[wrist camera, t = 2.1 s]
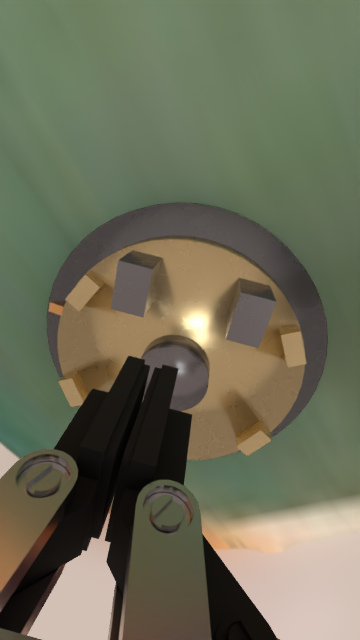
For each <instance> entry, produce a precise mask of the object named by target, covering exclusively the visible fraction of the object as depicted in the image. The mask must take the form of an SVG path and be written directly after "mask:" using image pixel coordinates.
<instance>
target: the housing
mask: <svg viewBox="0 0 360 640" xmlns="http://www.w3.org/2000/svg"><path fill="white" fill-rule="evenodd" d="M172 235H179V236H193V237H199V238H204V239H209V240H212V241H215V242H218V243H221V244H224V245H227V246H229V247H231V248H233V249H235V250H237V251H239V252H241V253H243V254H244V255H246V256H247V257H249V258H250V259H252V260H253V261H255V262H256V263H257V264H258V265H259V266H261V267H262V268H263V269H264V270H265V271H266V272H267V273H268V274H269V275H270V276H271V277H272V278H273V279H274V281H275V282H276V283H277V284H278V285H279V287H280V288H281V290H282V291H283V293H284V295H285V296H286V298H287V299H288V301H289V303H290V305H291V307H292V309H293V312H294V314H295V316H296V318H297V321H298V323H299V325H300V329H301V333H302V336H303V340H304V349H305V358H306V363H307V364H305V371H304V376H303V381H302V385H301V388H300V391H299V393H298V396H297V399H296V401H295V402H294V404H293V406H292V408H291V409H290V411H289V413H288V414H287V415H286V416H285V418H284V419H283V420H282V422H281V423H280V424H279V425H278V426H277V427H276V428H275V429H274V430H273V431H272V432H271V437H273V436H274V435H276V434H277V433H278V432H280V431H281V430H282V429H284V428H285V427H286V426H288V425H289V424H290V423H291V422H292V421H293V420H294V419H295V418H296V417H297V416H298V415H299V414H300V412H301V411H302V410H303V408H304V407H305V406H306V405H307V403H308V402H309V400H310V398H311V397H312V395H313V393H314V392H315V390H316V388H317V386H318V383H319V381H320V378H321V375H322V373H323V369H324V364H325V360H326V355H327V342H328V336H327V324H326V318H325V313H324V309H323V305H322V302H321V299H320V297H319V294H318V292H317V289H316V287H315V285H314V283H313V281H312V280H311V278H310V276H309V275H308V273H307V271H306V270H305V268H304V267H303V265H302V264H301V263H300V262H299V261H298V259H297V258H296V257H295V256H294V254H293V253H292V252H291V251H290V250H289V249H288V247H286V246H285V245H284V244H283V243H282V242H281V241H280V240H279V239H278V238H277V237H275V236H274V235H273V234H272V233H270V232H269V231H268V230H266V229H265V228H263V227H262V226H260V225H259V224H257V223H256V222H254V221H252V220H250V219H248V218H246V217H244V216H241V215H239V214H237V213H234V212H231V211H228V210H225V209H222V208H219V207H215V206H209V205H204V204H198V203H167V204H157V205H153V206H149V207H145V208H141V209H137V210H134V211H131V212H128V213H126V214H123V215H121V216H119V217H116V218H114V219H112V220H110V221H109V222H107V223H105V224H104V225H102V226H100V227H99V228H97V229H96V230H94V231H93V232H92V233H91V234H89V235H88V236H87V237H86V238H85V239H83V240H82V241H81V242H80V244H79V245H78V246H77V247H76V248H75V249H74V250H73V251H72V252H71V254H70V255H69V256H68V258H67V260H66V261H65V263H64V264H63V266H62V267H61V269H60V271H59V273H58V275H57V278H56V280H55V282H54V284H53V288H52V291H51V295H50V298H49V304H48V311H47V335H48V342H49V348H50V351H51V355H52V359H53V362H54V365H55V367H56V369H57V372H58V374H59V376H60V378H61V377H62V376H63V373H62V369H61V366H60V362H59V355H58V348H57V344H58V328H59V321H60V317H61V314H62V311H63V308H64V305H65V303H66V300H65V299H66V298H67V296H68V295H69V294H70V293H71V291H72V290H73V289H74V287H75V286H76V284H77V283H78V282H79V280H80V279H81V278H82V277H83V276H84V275H85V274H86V273H87V272H88V271H89V270H90V269H91V268H93V267H94V266H95V265H96V264H98V263H99V262H100V261H102V260H103V259H105V258H106V257H108V256H110V255H111V254H113V253H115V252H116V251H118V250H120V249H122V248H124V247H125V246H128V245H130V244H133V243H136V242H138V241H141V240H145V239H149V238H154V237H160V236H172ZM79 406H80V405H79ZM240 451H241V450H240ZM240 451H238V452H240ZM232 454H233V453H232Z"/></svg>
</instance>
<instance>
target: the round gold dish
mask: <svg viewBox="0 0 360 640" xmlns="http://www.w3.org/2000/svg"><path fill="white" fill-rule="evenodd" d="M65 300H66V303H65V305H64V308H63V311H62V314H61V317H60V321H59V328H58V344H57V348H58V355H59V362H60V366H61V369H62V373H63V376H62V377H61V378H60V379H59V381H58V382H59V384H60V386H61V388H62V390H63V392H64V394H65V396H66V398H67V400H68V402H69V404H70V406H71V407H73V406H79V405H80V407H81V405H82V404H83V402H84V400H85V399H86V397H87V396H88V394H89V392H90V391H91V390H92V389H93V388H94V389H98V390H101V391H105V392H109V391H110V389H111V387H112V385H113V383H114V381H115V379H116V378H117V376H118V374H119V372H120V370H121V368H122V367H123V365H124V363H125V361H126V359H127V357H128V356H133V357H136V358H140V359H144V360H145V364H146V365H149V366H150V370H149V374H148V379H147V383H146V388H145V392H144V396H145V393H146V391H147V388H148V385H149V382H150V380H151V377H152V374H153V371H154V369H155V367H157V368H162V365H167V366H171V367H175V368H179V369H178V374H177V378H176V382H175V387H174V391H173V395H172V399H171V404H170V409H174V410H177V411H181V412H185V413H189V414H192V422H191V430H190V438H189V446H188V454H187V460H202V459H211V458H217V457H222V456H226V455H229V454H232V453H236V452H238V451H240V450H241V451H242V452H243V453H244V454H245V455H246V456H248V455H250V454H251V453H253V452H255V451H256V450H258V449H259V448H261V447H262V446H264V445H265V444H267V443H268V442H270V441H272V438H271V432H272V431H273V430H274V429H275V428H276V427H277V426H278V425H279V424H280V423H281V422H282V420H283V419H284V418H285V416H286V415H287V414H288V413H289V411H290V409H291V408H292V406H293V404H294V402H295V401H296V399H297V396H298V393H299V391H300V388H301V385H302V381H303V376H304V371H305V364H307V363H306V358H305V349H304V340H303V336H302V333H301V329H300V325H299V323H298V321H297V318H296V316H295V314H294V312H293V309H292V307H291V305H290V303H289V301H288V299H287V298H286V296H285V295H284V293H283V291H282V290H281V288H280V287H279V285H278V284H277V283H276V282H275V281H274V279H273V278H272V277H271V276H270V275H269V274H268V273H267V272H266V271H265V270H264V269H263V268H262V267H261V266H259V265H258V264H257V263H256V262H255V261H253V260H252V259H250V258H249V257H247V256H246V255H244V254H243V253H241V252H239V251H237V250H235V249H233V248H231V247H229V246H227V245H224V244H221V243H218V242H215V241H212V240H209V239H204V238H199V237H193V236H179V235H172V236H160V237H154V238H149V239H145V240H141V241H138V242H136V243H133V244H130V245H128V246H125V247H124V248H122V249H120V250H118V251H116V252H115V253H113V254H111V255H110V256H108V257H106V258H105V259H103V260H102V261H100V262H99V263H98V264H96V265H95V266H94V267H93V268H91V269H90V270H89V271H88V272H87V273H86V274H85V275H84V276H83V277H82V278H81V279H80V280H79V282H78V283H77V284H76V286H75V287H74V289H73V290H72V291H71V293H70V294H69V295H68V296H67V298H66V299H65ZM143 399H144V397H143ZM142 402H143V401H142Z"/></svg>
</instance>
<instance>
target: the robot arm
mask: <svg viewBox="0 0 360 640" xmlns="http://www.w3.org/2000/svg"><path fill="white" fill-rule="evenodd" d="M178 369H179V368H175V367H171V366H167V365H162V368H157V367H155V369H154V371H153V374H152V377H151V380H150V382H149V385H148V388H147V391H146V393H145V396H144V392H145V388H146V383H147V379H148V374H149V370H150V366H149V365H146V364H145V360H144V359H140V358H136V357H133V356H128V357H127V359H126V361H125V363H124V365H123V367H122V368H121V370H120V372H119V374H118V376H117V378H116V379H115V381H114V383H113V385H112V387H111V389H110V391H109V392H105V391H101V390H98V389H94V388H93V389H92V390H91V391H90V392H89V394H88V396H87V397H86V399H85V400H84V402H83V404H82V405H81V407H80V408H79V410H78V411H77V413H76V415H75V416H74V418H73V419H72V421H71V423H70V424H69V426H68V427H67V429H66V430H65V432H64V434H63V435H62V437H61V438H60V440H59V442H58V443H57V445H56V446H55V448H54V449H42V450H38V451H34V452H31V453H29V454H27V455H25V456H23V457H22V458H21V459H20V460H18V461H17V462H16V463H15V464H14V465H13V466H12V467H11V468H10V469H9V470H8V471H7V472H6V473H5V474H4V475H3V476H2V478H1V479H0V640H41V639H37V638H33V637H30V636H27V634H28V632H29V631H30V629H31V627H32V625H33V623H34V622H35V620H36V618H37V616H38V615H39V613H40V611H41V609H42V607H43V606H44V604H45V602H46V600H47V599H48V597H49V595H50V593H51V591H52V590H53V588H54V586H55V584H56V583H57V581H58V579H59V577H60V575H61V574H62V571H63V569H64V566H65V564H66V563H67V562H69V561H70V560H72V559H74V558H76V557H78V556H79V555H81V553H82V550H85V551H87V548H88V545H89V542H90V540H91V537H93V538H97V539H99V537H100V535H101V532H102V528H103V526H104V523H105V520H106V517H107V514H108V511H109V509H110V506H111V503H112V500H113V497H114V500H113V504H112V509H111V514H110V519H109V524H108V529H107V533H106V538H105V541H108V542H111V544H110V548H109V552H108V557H107V564H108V566H109V568H110V570H111V572H112V574H113V576H114V578H115V581H116V585H115V590H114V598H113V606H112V612H111V620H110V628H109V635H108V640H280V639H278V638H276V636H275V634H274V633H273V631H272V629H271V627H270V626H269V624H268V623H267V621H266V620H265V619H264V617H263V616H262V615H261V613H260V612H259V611H258V609H257V608H256V606H255V605H254V604H253V602H252V601H251V600H250V598H249V597H248V596H247V594H246V593H245V591H244V590H243V589H242V587H241V586H240V585H239V583H238V582H237V581H236V579H235V578H234V577H233V575H232V574H231V573H230V571H229V570H228V568H227V567H226V566H225V564H224V563H223V562H222V560H221V559H220V557H219V556H218V555H217V553H216V552H215V551H214V549H213V548H212V547H211V545H210V544H209V542H208V541H207V540H206V538H205V537H204V536H203V534H202V526H201V515H200V509H199V505H198V502H197V500H196V498H195V497H194V495H193V494H192V493H191V492H190V491H189V490H188V489H187V488H186V487H185V486H184V478H185V470H186V462H187V454H188V446H189V438H190V430H191V422H192V414H189V413H185V412H181V411H177V410H174V409H170V404H171V399H172V395H173V391H174V387H175V382H176V378H177V374H178ZM143 397H144V399H143ZM142 401H143V402H142ZM114 494H115V495H114Z"/></svg>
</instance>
